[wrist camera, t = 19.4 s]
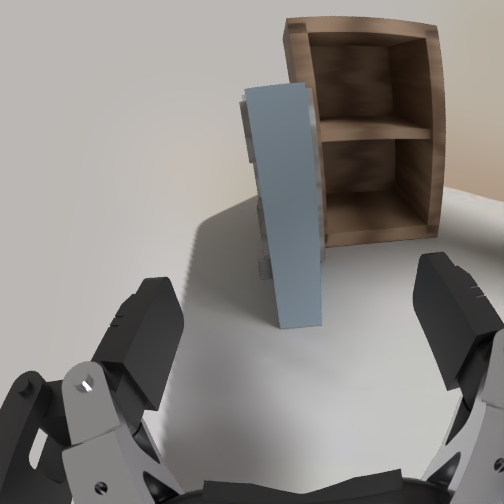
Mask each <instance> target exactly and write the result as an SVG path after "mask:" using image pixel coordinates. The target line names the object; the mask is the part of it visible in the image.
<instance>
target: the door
mask: <svg viewBox="0 0 504 504" xmlns="http://www.w3.org/2000/svg"><path fill="white" fill-rule="evenodd" d="M245 96H246V102H247V108H248V114H249V120H250V126H251V132H252V139H253V145H254V151H255V158H256V164H257V171H258V177H259V184H260V190H261V197H262V203H263V210H264V217H265V224H266V231H267V237H268V244H269V251H270V258H271V259H260V260H259V272H260V278H261V280H262V279H273V280H274V287H275V294H276V302H277V309H278V317H279V324H280V329H288V328H300V327H312V326H321V267H320V242H319V222H318V206H317V191H316V178H315V166H314V155H313V145H312V135H311V126H310V117H309V109H308V101H307V93H306V86H305V82H300V83H289V84H279V85H270V86H262V87H254V88H247V89H245Z"/></svg>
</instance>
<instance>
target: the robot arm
mask: <svg viewBox="0 0 504 504" xmlns="http://www.w3.org/2000/svg"><path fill="white" fill-rule="evenodd" d="M413 307H414V310H415V313H416V315H417V317H418V320H419V322H420V324H421V326H422V329H423V331H424V333H425V335H426V338H427V340H428V342H429V345H430V347H431V350H432V352H433V355H434V357H435V360H436V362H437V365H438V367H439V370H440V372H441V375H442V378H443V380H444V383H445V386H446V389H447V391H449V390H452V389H456V388H459V387H460V389H461V391H462V395H461V396H460V398H459V400H458V403H457V406H456V409H455V411H454V414H453V417H452V420H451V422H450V425H449V427H448V430H447V432H446V435H445V437H444V439H443V442H442V444H441V446H440V448H439V450H438V452H437V454H436V455H435V457H434V458H433V460H432V461H431V463H430V464H429V466H428V467H427V469H426V471H425V472H424V474H423V476H422V478H421V480H419V479H414V478H405V477H402V474H401V469H397V470H392V471H388V472H383V473H378V474H373V475H367V476H361V477H354V478H352V479H349V480H346V481H343V482H341V483H338V484H335V485H332V486H329V487H326V488H323V489H320V490H316V491H313V492H310V493H305V494H297V493H292V492H287V491H282V490H277V489H272V488H268V487H263V486H259V485H255V484H250V483H229V482H216V481H206V480H204V486H203V489H200V490H196V491H191V492H188V493H186V492H185V491H184V489H183V488H182V486H181V485H180V483H179V482H178V480H177V479H176V478H175V477H174V475H173V474H172V473H171V472H170V471H169V469H168V468H167V466H166V464H165V462H164V460H163V458H162V456H161V455H160V453H159V451H158V449H157V447H156V444H155V442H154V440H153V438H152V436H151V434H150V432H149V430H148V428H147V425H146V423H145V421H144V419H143V418H142V416H143V413H144V410H153V411H158V409H159V405H160V402H161V399H162V396H163V392H164V389H165V386H166V383H167V379H168V376H169V373H170V370H171V367H172V363H173V360H174V357H175V354H176V351H177V348H178V345H179V341H180V338H181V335H182V332H183V328H184V317H183V313H182V310H181V307H180V305H179V302H178V299H177V297H176V294H175V292H174V289H173V286H172V283H171V281H170V279H169V278H168V277H157V278H146V279H144V280H143V282H142V283H141V285H140V287H139V289H138V290H137V292H136V294H132V295H131V296H130V297H129V298H128V299H127V300H126V301H125V302H124V303H122V305H121V306H120V308H119V310H118V312H117V313H116V315H115V318H114V319H113V321H112V322H111V324H110V327H109V328H108V329H107V331H106V333H105V335H104V337H103V339H102V341H101V343H100V344H99V346H98V348H97V350H96V352H95V354H94V356H93V358H92V360H91V361H89V362H83V363H80V364H78V365H76V366H74V367H73V368H72V369H71V370H69V372H68V373H67V374H66V376H65V377H64V379H63V380H58V381H52V382H46V381H45V380H44V379H43V378H42V376H41V375H40V374H39V373H38V372H36V371H28V372H25V373H23V374H22V375H20V376H19V377H18V378H17V379H16V380H15V382H14V383H13V385H12V387H11V389H10V391H9V393H8V394H7V397H6V399H5V401H4V403H3V405H2V407H1V409H0V504H71V501H72V497H73V500H74V503H75V504H504V323H503V322H502V320H501V318H500V317H499V315H498V314H497V312H496V311H495V309H494V308H493V306H492V305H491V303H490V302H489V300H488V299H487V297H486V296H484V293H483V292H482V290H481V289H480V287H478V285H477V283H476V282H475V281H474V279H473V278H472V276H471V275H470V274H469V273H467V272H466V271H465V270H463V269H462V268H460V267H459V266H455V265H454V264H453V263H452V261H451V260H450V259H449V258H448V256H447V255H446V254H445V253H444V252H437V253H428V254H422V255H421V256H420V259H419V264H418V269H417V275H416V280H415V285H414V290H413ZM39 428H40V429H41V430H43V431H44V432H45V433H46V434H48V437H47V439H46V442H45V445H44V448H43V450H42V453H41V456H40V459H39V462H38V466H37V468H36V469H33V468H32V466H31V465H30V462H29V453H30V450H31V447H32V445H33V442H34V439H35V437H36V434H37V432H38V429H39Z"/></svg>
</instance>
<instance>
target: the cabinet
mask: <svg viewBox="0 0 504 504" xmlns="http://www.w3.org/2000/svg"><path fill="white" fill-rule="evenodd" d="M283 44H284V49H285V56H286V61H287V68H288V75H289V81H290V83H300V82H305V86H306V93H307V101H308V109H309V117H310V126H311V135H312V145H313V155H314V166H315V178H316V191H317V206H318V222H319V242H320V260H325V247H335V246H345V245H356V244H366V243H377V242H387V241H397V240H408V239H418V238H428V237H437V235H438V228H439V221H440V213H441V205H442V195H443V183H444V169H445V141H446V139H445V138H446V137H445V136H446V117H445V116H446V115H445V91H444V78H443V67H442V58H441V50H440V43H439V36H438V30H437V26H435V25H429V24H424V23H417V22H410V21H403V20H394V19H384V18H371V17H347V16H346V17H345V16H344V17H343V16H322V17H299V18H287V19H286V23H285V29H284V34H283ZM242 99H243V101H242V102H240V109H241V115H242V120H243V127H244V133H245V138H246V145H247V151H248V157H249V162H250V163H253V165H254V172H255V179H256V185H257V191H258V204H257V212H258V219H259V225H260V231H261V238H262V244H263V250H264V257H265V259H266V258H270V251H269V244H268V237H267V231H266V224H265V217H264V210H263V203H262V197H261V190H260V184H259V177H258V171H257V164H256V158H255V151H254V145H253V139H252V132H251V126H250V120H249V114H248V108H247V102H246V96H245V95H242Z"/></svg>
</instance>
